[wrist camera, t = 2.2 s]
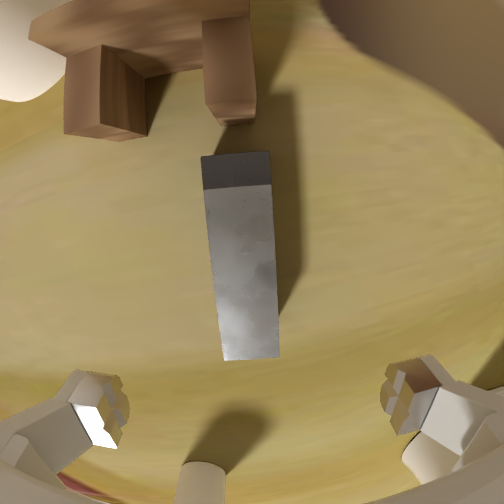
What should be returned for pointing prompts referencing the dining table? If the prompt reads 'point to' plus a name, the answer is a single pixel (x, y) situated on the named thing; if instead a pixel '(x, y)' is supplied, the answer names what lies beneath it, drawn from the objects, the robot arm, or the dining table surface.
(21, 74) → the canister
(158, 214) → the dining table surface
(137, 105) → the wooden chair block
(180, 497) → the mug
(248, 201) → the rectangular grey metal block
